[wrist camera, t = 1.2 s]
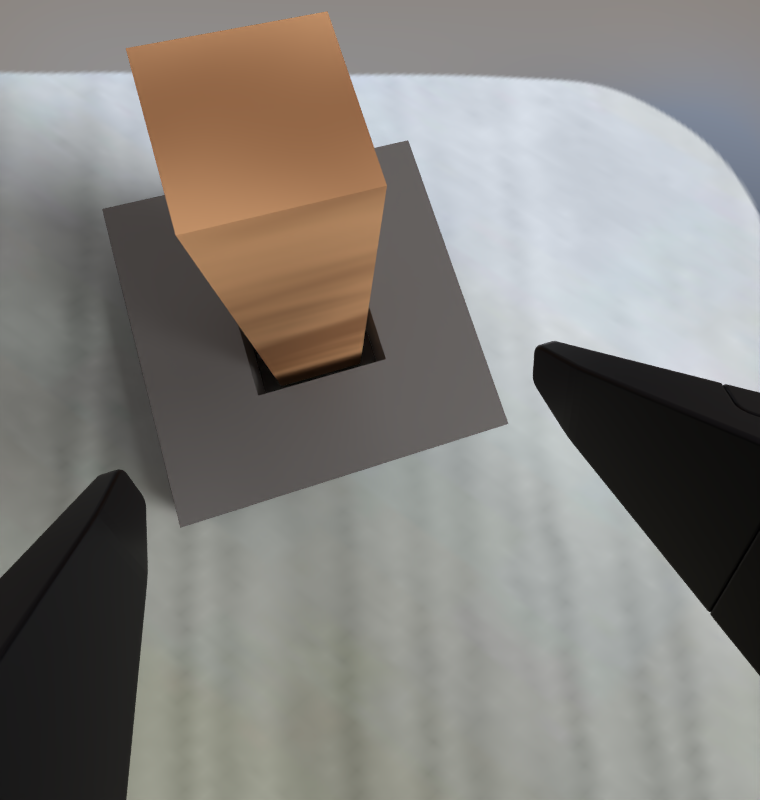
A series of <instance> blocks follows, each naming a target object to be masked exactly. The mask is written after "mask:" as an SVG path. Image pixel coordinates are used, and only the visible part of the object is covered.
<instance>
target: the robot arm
mask: <svg viewBox="0 0 760 800" xmlns="http://www.w3.org/2000/svg"><path fill="white" fill-rule="evenodd" d="M533 381H534V384H535V386H536V388H537V389H538V391H539V393H540V394H541V396H542V397H543V399H544V400H545V402H546V404H547V405H548V407H549V408H550V410H551V412H552V413H553V415H554V416H555V418H556V419H557V421H558V423H559V424H560V426H561V427H562V429H563V430H564V432H565V433H566V435H567V436H568V438H569V439H570V440H571V442H572V443H573V444H574V445H575V447H576V448H577V449H578V450H579V452H580V453H581V454H582V455H583V457H584V458H585V459H586V460H587V462H588V463H589V464H590V465H591V467H592V468H593V469H594V470H595V471H596V473H597V474H598V475H599V476H600V478H601V479H602V480H603V481H604V483H605V484H606V485H607V486H608V488H609V489H610V490H611V491H612V493H613V494H614V495H615V496H616V498H617V499H618V500H619V501H620V503H621V504H622V505H623V506H624V507H625V509H626V510H627V511H628V512H629V514H630V515H631V516H632V517H633V519H634V520H635V521H636V522H637V524H638V525H639V526H640V527H641V529H642V530H643V531H644V532H645V534H646V535H647V536H648V537H649V539H650V540H651V541H652V542H653V543H654V545H655V546H656V547H657V548H658V550H659V551H660V552H661V553H662V555H663V556H664V557H665V558H666V560H667V561H668V562H669V563H670V565H671V566H672V567H673V568H674V570H675V571H676V572H677V573H678V575H679V576H680V577H681V578H682V579H683V581H684V582H685V583H686V584H687V586H688V587H689V588H690V589H691V591H692V592H693V593H694V594H695V596H696V597H697V598H698V599H699V601H700V602H701V603H702V604H703V606H704V607H705V608H706V609H707V611H709V612H711V613H710V614H711V616H712V617H713V618H714V620H715V621H716V622H717V623H718V625H719V626H720V627H721V628H722V630H723V631H724V632H725V633H726V635H727V636H728V637H729V638H730V640H731V641H732V642H733V643H734V644H735V646H736V647H737V648H738V649H739V651H740V652H741V653H742V654H743V656H744V657H745V658H746V659H747V661H748V662H749V663H750V664H751V666H752V667H753V668H754V669H755V671H756V672H757V673H758V674H759V675H760V393H759V392H755V391H751V390H747V389H743V388H739V387H735V386H731V385H727V384H725V385H722V384H721V383H719V382H715V381H711V380H707V379H703V378H699V377H695V376H691V375H687V374H683V373H679V372H675V371H671V370H667V369H663V368H659V367H655V366H652V365H648V364H644V363H640V362H636V361H632V360H628V359H624V358H620V357H616V356H612V355H608V354H604V353H600V352H596V351H592V350H588V349H584V348H580V347H576V346H572V345H568V344H565V343H561V342H557V341H551V342H548V343H545V344H541V345H538V346H537V347H536V349H535V352H534V366H533ZM147 575H148V558H147V526H146V504H145V500H144V498H143V496H142V494H141V493H140V491H139V490H138V488H137V487H136V486H135V484H134V483H133V481H132V480H131V479H130V477H129V476H128V475H127V473H126V472H125V471H123V470H119V469H118V470H114V471H111V472H108V473H104V474H101V475H99V476H98V477H97V478H96V479H95V480H94V481H93V482H92V483H91V484H90V485H89V486H88V487H87V488H86V489H85V490H84V491H83V492H82V493H81V494H80V496H79V497H78V498H77V499H76V500H75V501H74V502H73V503H72V504H71V505H70V506H69V507H68V508H67V509H66V510H65V511H64V512H63V513H62V514H61V515H60V516H59V517H58V519H57V520H56V521H55V522H54V523H53V524H52V525H51V526H50V527H49V528H48V529H47V530H46V531H45V532H44V533H43V534H42V535H41V536H40V537H39V538H38V539H37V540H36V542H35V543H34V544H33V545H32V546H31V547H30V548H29V549H28V550H27V551H26V552H25V553H24V554H23V555H22V556H21V557H20V558H19V559H18V560H17V561H16V562H15V563H14V564H13V566H12V567H11V568H10V569H9V570H8V571H7V572H6V573H5V574H4V575H3V576H2V577H1V578H0V800H126V797H127V787H128V776H129V766H130V755H131V745H132V735H133V724H134V714H135V703H136V693H137V682H138V672H139V662H140V651H141V641H142V630H143V620H144V609H145V599H146V589H147Z"/></svg>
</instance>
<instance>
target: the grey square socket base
mask: <svg viewBox="0 0 760 800" xmlns="http://www.w3.org/2000/svg"><path fill="white" fill-rule="evenodd" d="M374 149H375V152H376V155H377V158H378V161H379V164H380V167H381V170H382V173H383V175H384V178H385V181H386V184H387V189H386V195H385V202H384V209H383V215H382V222H381V229H380V235H379V242H378V249H377V255H376V262H375V269H374V275H373V282H372V289H371V295H370V302H369V309H368V315H367V322H366V331H367V334H368V337H369V340H370V343H371V346H372V350H373V353H374V356H375V359H376V362H374V363H371V364H367V365H364V366H360V367H357V368H353V369H350V370H346V371H343V372H339V373H336V374H332V375H329V376H325V377H322V378H318V379H315V380H311V381H308V382H304V383H301V384H297V385H294V386H290V387H287V388H283V389H280V390H276V391H273V392H269V393H266V392H265V389H264V385H263V382H262V378H261V374H260V371H259V367H258V364H257V360H256V357H255V353H254V350H253V346H252V344H251V342H250V341H249V339H248V338H247V337H246V335H245V334H244V332H243V331H242V329H241V328H240V327H239V325H238V324H237V322H236V321H235V319H234V318H233V317H232V315H231V314H230V312H229V311H228V309H227V308H226V307H225V305H224V304H223V302H222V301H221V299H220V298H219V297H218V295H217V294H216V292H215V291H214V289H213V288H212V287H211V285H210V284H209V282H208V281H207V279H206V278H205V277H204V275H203V274H202V272H201V271H200V270H199V268H198V267H197V265H196V264H195V262H194V261H193V260H192V258H191V257H190V255H189V254H188V252H187V251H186V250H185V248H184V247H183V245H182V244H181V242H180V241H179V240H178V238H177V237H176V235H175V231H174V227H173V223H172V220H171V216H170V212H169V208H168V205H167V201H166V197H165V195H163V196H158V197H154V198H150V199H145V200H141V201H136V202H132V203H127V204H123V205H118V206H114V207H109V208H105V209H103V214H104V218H105V222H106V226H107V230H108V234H109V238H110V242H111V246H112V250H113V254H114V258H115V263H116V267H117V271H118V275H119V279H120V283H121V287H122V291H123V295H124V299H125V303H126V307H127V312H128V316H129V320H130V324H131V328H132V332H133V336H134V340H135V344H136V348H137V352H138V356H139V361H140V365H141V369H142V373H143V377H144V381H145V385H146V389H147V393H148V397H149V401H150V405H151V410H152V414H153V418H154V422H155V426H156V430H157V434H158V438H159V442H160V446H161V450H162V454H163V459H164V463H165V467H166V471H167V475H168V479H169V483H170V487H171V491H172V495H173V499H174V503H175V508H176V512H177V516H178V520H179V524H180V528H181V527H184V526H187V525H190V524H193V523H196V522H200V521H203V520H206V519H209V518H212V517H215V516H218V515H222V514H225V513H228V512H231V511H234V510H237V509H241V508H244V507H247V506H250V505H253V504H256V503H259V502H263V501H266V500H269V499H272V498H275V497H278V496H282V495H285V494H288V493H291V492H294V491H297V490H301V489H304V488H307V487H310V486H313V485H316V484H319V483H323V482H326V481H329V480H332V479H335V478H338V477H342V476H345V475H348V474H351V473H354V472H357V471H360V470H364V469H367V468H370V467H373V466H376V465H379V464H383V463H386V462H389V461H392V460H395V459H398V458H402V457H405V456H408V455H411V454H414V453H417V452H420V451H424V450H427V449H430V448H433V447H436V446H439V445H443V444H446V443H449V442H452V441H455V440H458V439H461V438H465V437H468V436H471V435H474V434H477V433H480V432H484V431H487V430H490V429H493V428H496V427H499V426H503V425H506V424H508V422H507V419H506V416H505V413H504V410H503V407H502V405H501V402H500V399H499V396H498V393H497V390H496V388H495V385H494V382H493V379H492V376H491V373H490V371H489V368H488V365H487V362H486V359H485V357H484V354H483V351H482V348H481V345H480V342H479V340H478V337H477V334H476V331H475V328H474V325H473V323H472V320H471V317H470V314H469V311H468V308H467V306H466V303H465V300H464V297H463V294H462V291H461V289H460V286H459V283H458V280H457V277H456V274H455V272H454V269H453V266H452V263H451V260H450V258H449V255H448V252H447V249H446V246H445V243H444V241H443V238H442V235H441V232H440V229H439V226H438V224H437V221H436V218H435V215H434V212H433V209H432V207H431V204H430V201H429V198H428V195H427V192H426V190H425V187H424V184H423V181H422V178H421V175H420V173H419V170H418V167H417V164H416V161H415V159H414V156H413V153H412V150H411V147H410V144H409V142H408V141H404V142H399V143H395V144H390V145H386V146H381V147H377V148H374Z"/></svg>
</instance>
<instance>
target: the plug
mask: <svg viewBox="0 0 760 800" xmlns="http://www.w3.org/2000/svg"><path fill="white" fill-rule="evenodd" d="M126 51H127V54H128V58H129V62H130V66H131V70H132V73H133V77H134V81H135V85H136V88H137V92H138V96H139V100H140V103H141V107H142V111H143V115H144V118H145V122H146V126H147V130H148V133H149V137H150V141H151V145H152V148H153V152H154V156H155V160H156V163H157V167H158V171H159V175H160V178H161V182H162V186H163V190H164V193H165V197H166V201H167V205H168V208H169V212H170V216H171V220H172V223H173V227H174V231H175V235H176V237H177V238H178V240H179V241H180V242H181V244H182V245H183V247H184V248H185V250H186V251H187V252H188V254H189V255H190V257H191V258H192V260H193V261H194V262H195V264H196V265H197V267H198V268H199V270H200V271H201V272H202V274H203V275H204V277H205V278H206V279H207V281H208V282H209V284H210V285H211V287H212V288H213V289H214V291H215V292H216V294H217V295H218V297H219V298H220V299H221V301H222V302H223V304H224V305H225V307H226V308H227V309H228V311H229V312H230V314H231V315H232V317H233V318H234V319H235V321H236V322H237V324H238V325H239V327H240V328H241V329H242V331H243V332H244V334H245V335H246V337H247V338H248V339H249V341H250V342H251V344H252V345H253V347H254V348H255V349H256V351H257V352H258V354H259V355H260V357H261V358H262V359H263V361H264V362H265V364H266V365H267V366H268V368H269V369H270V371H271V372H272V374H273V375H274V376H275V378H276V379H277V381H278V382H279V384H280V385H281V386H284V385H288V384H291V383H295V382H298V381H302V380H305V379H309V378H312V377H316V376H319V375H323V374H326V373H330V372H333V371H337V370H340V369H344V368H347V367H351V366H354V365H358V364H360V362H361V355H362V348H363V342H364V335H365V329H366V322H367V315H368V309H369V302H370V295H371V289H372V282H373V275H374V269H375V262H376V255H377V249H378V242H379V235H380V229H381V222H382V215H383V209H384V202H385V195H386V189H387V184H386V181H385V178H384V175H383V173H382V170H381V167H380V164H379V161H378V158H377V155H376V152H375V149H374V146H373V143H372V140H371V137H370V134H369V132H368V129H367V126H366V123H365V120H364V117H363V114H362V111H361V108H360V105H359V102H358V99H357V96H356V93H355V91H354V88H353V85H352V82H351V79H350V76H349V73H348V70H347V67H346V64H345V61H344V58H343V56H342V53H341V50H340V47H339V44H338V41H337V38H336V35H335V32H334V29H333V26H332V24H331V20H330V18H329V14H328V12H322V13H316V14H311V15H306V16H300V17H295V18H289V19H284V20H278V21H273V22H268V23H262V24H256V25H251V26H245V27H240V28H235V29H229V30H224V31H218V32H213V33H207V34H201V35H196V36H191V37H185V38H180V39H174V40H169V41H164V42H158V43H153V44H147V45H141V46H136V47H131V48H126Z"/></svg>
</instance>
